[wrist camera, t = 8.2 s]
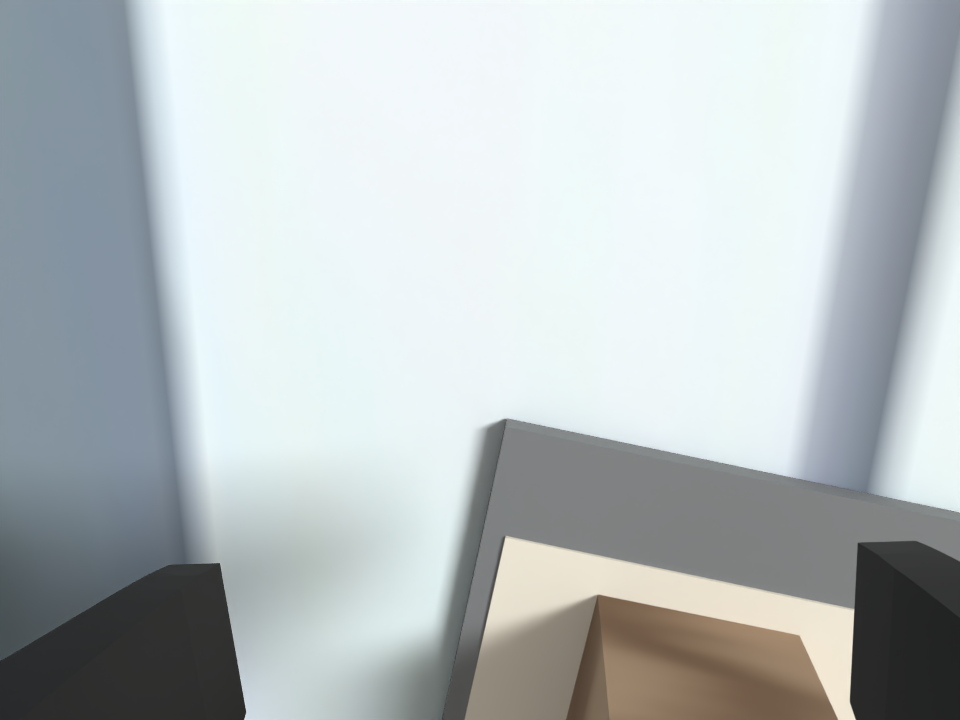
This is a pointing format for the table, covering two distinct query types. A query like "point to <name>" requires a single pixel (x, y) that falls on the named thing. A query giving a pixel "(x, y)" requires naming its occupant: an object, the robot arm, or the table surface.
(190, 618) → the robot arm
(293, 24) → the table surface
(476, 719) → the mat
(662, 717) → the brown rectangular block
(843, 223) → the table surface
